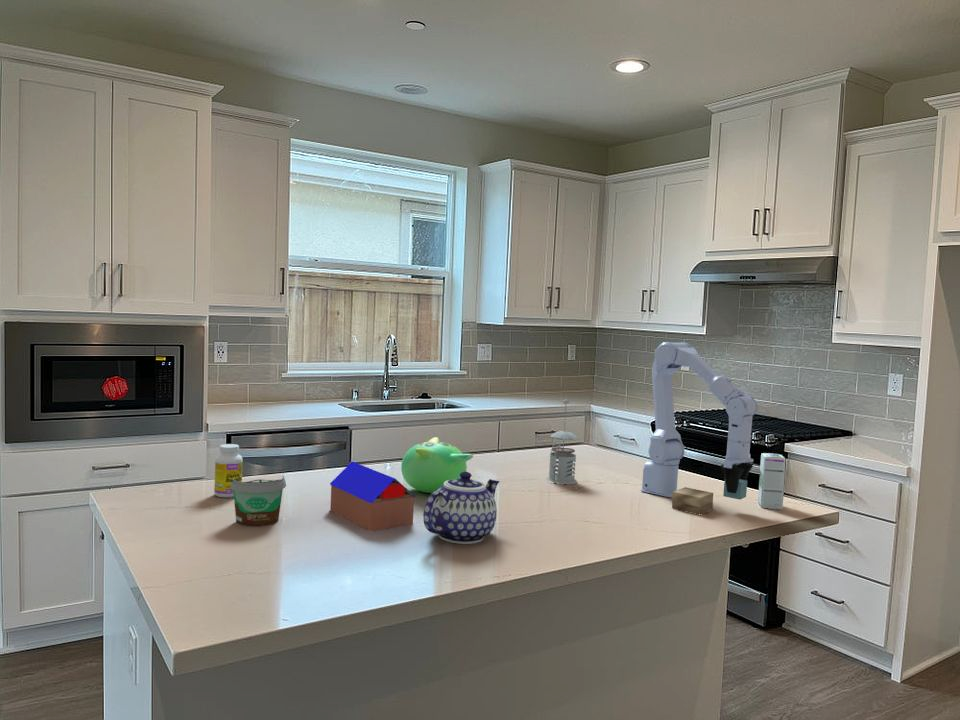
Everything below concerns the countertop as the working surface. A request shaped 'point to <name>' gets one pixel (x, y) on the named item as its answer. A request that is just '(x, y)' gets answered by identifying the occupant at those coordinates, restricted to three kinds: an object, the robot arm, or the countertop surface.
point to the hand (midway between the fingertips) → (735, 491)
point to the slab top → (692, 497)
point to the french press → (562, 458)
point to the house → (371, 498)
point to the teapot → (462, 510)
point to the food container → (257, 501)
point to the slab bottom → (692, 507)
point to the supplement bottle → (227, 470)
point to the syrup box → (771, 481)
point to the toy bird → (433, 465)
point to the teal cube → (740, 490)
